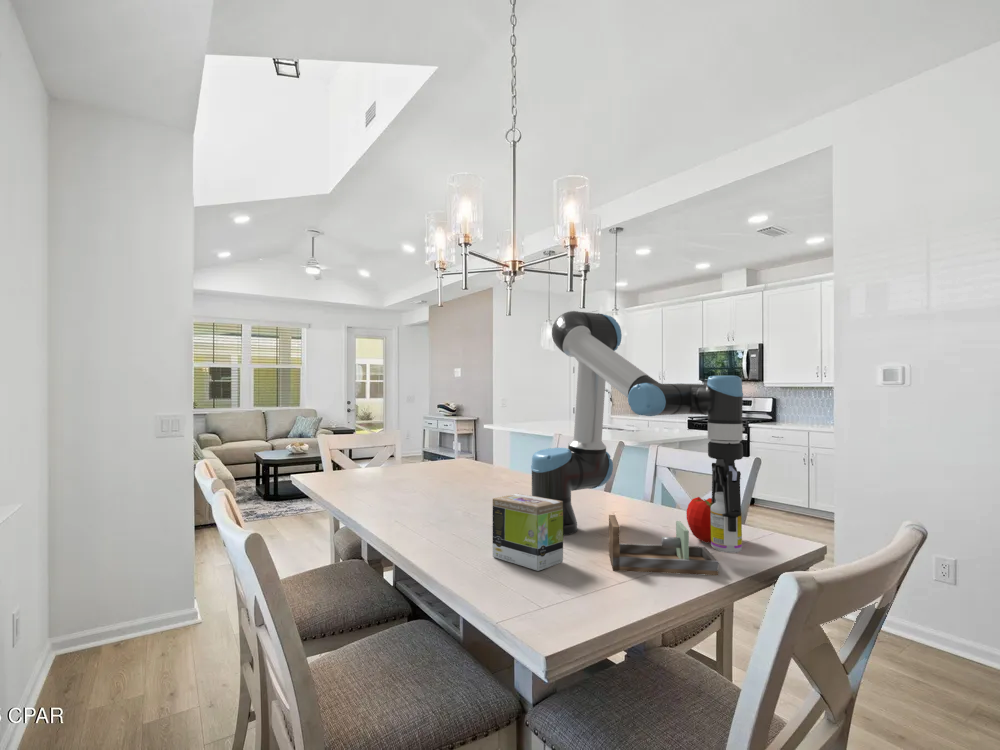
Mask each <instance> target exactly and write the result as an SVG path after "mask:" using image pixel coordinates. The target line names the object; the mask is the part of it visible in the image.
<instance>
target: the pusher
mask: <svg viewBox="0 0 1000 750" xmlns="http://www.w3.org/2000/svg"><path fill="white" fill-rule="evenodd" d="M689 533H690V532H689V530H688V529H687V527H686V526H685V525H684V524H683V522H682V521H680V520H675V537H672V536H662V537H661V545H662V547H663V548H676V554H677V556H678V557H679V559H689V546H690V545H689V543H690V535H689Z"/></svg>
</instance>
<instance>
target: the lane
mask: <svg viewBox="0 0 1000 750" xmlns="http://www.w3.org/2000/svg"><path fill="white" fill-rule="evenodd" d="M620 537H621V536H620V525H619V521H618V519H617V517H616V514H608V556H609V560H610V564H611V565H610V566H611V567H612V571H613V572H614V571H615V572H634V573H635V572H636V573H659V574H676V573H680V574H681V575H698V574H705V576H719V561H718V560H717V559H716V558H715V556H713V554H712V553H711V552H710V551H709V549H707V547H706V546H697V545H695V546H693V545H689V559H679V557H678V556H677V554H676V548H663V547H662V544H647V543H646V544H642V543H640V544H639V543H620V542H621V541H620V539H621V538H620ZM680 574H679V575H680Z"/></svg>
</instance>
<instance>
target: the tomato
mask: <svg viewBox="0 0 1000 750" xmlns="http://www.w3.org/2000/svg"><path fill="white" fill-rule="evenodd" d="M711 500H712V497H708V498H707V499H705V498H701V497H699V496H697V497H694V498H692V499H691V500H690V502H689V503H688V504H687V509H686V521H687V525H688V528H689V529H690V531H691V533H692V536H694V537H695V538H696V539H698V540H699V541H702V542H704V543H705V542H706V543H707V544H711V505H712V504H714V503H712V501H711Z"/></svg>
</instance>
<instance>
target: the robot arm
mask: <svg viewBox="0 0 1000 750" xmlns="http://www.w3.org/2000/svg"><path fill="white" fill-rule="evenodd" d="M622 334H623V333H622V330H621V326H620V324H619V323H618V321H617V319H615V318H614V317H613V316H611V315H607V314H604V313H595V312H584V311H577V310H576V311H575V310H571V311H567V312H564V313H562V314H560V315H558V317H557V318H556V319H555V320H554V323H553V324H552V328H551V337H552V341H553V342H554V345H555V346H556V347H557V348H558V349H559V350H560V351H561V352H562V353H563V354H565V355H566V356H567V357H570V358H571V357H572V358H575V360H576V361H577V363H578V366H577V381H576V383H577V384H576V396H575V398H576V400H575V410H574V411H575V412H574V414H575V415H574V431H573V432H574V433H573V439H572V440H570V441H569V443H568V446H567V447H568V448H566V447H553V448H551V447H549V448H544V449H540V450H537V451H535V452H534V453H533V454H532V457H531V465H530V470H531V496H536V497H541V498H547V499H553V500H559V501H563V536H568V535H573V534H575V533H576V532H577V531H578V522H577V521H578V520H577V519H576V514H575V512H574V508H573V506H572V492H573V491H580V490H587V489H589V490H590V489H591V490H592V489H596V488H598V487H602V486H604V485H606V484H607V483H608V482H609V480H610V479H611V478H612V475H613V470H614V463H613V460H612V459H611V455H610V453H609V452H608V451H607V446H606V444H605V443H604V442H603V426H604V408H605V397H606V383H608V385H610V386H611V387H613V388H614V389H615V390H616V391H618V392H619V393H620V394H622V395H623V396H624V397H625V398H627V402H628V406H629V408H630V409H631V411H632V412H633V413H634V414H636V415H638V416H645V417H655V416H656V417H657V416H667V415H669V416H670V415H673V416H674V415H677V416H678V415H704V416H707V438H708V440H709V441H708V443H707V455H708V457H709V458H711V459H713V460H715V462H712V463H711V473H712V474H711V498H712V500H711V501H712V503H716V499H715V493H716V492H723V495H724V504H725V514H722V516H723V517H724V545H729V546H738V534H737V517H738V516H741V513H742V503H741V501H742V500H741V471H740V470H738V469H737V467H736V463H735V462H736V460H742V459H743V458H744V445H743V443H742V440H743V439H744V436H743V435H744V434H743V432H745V429H746V428H745V427H744V425H743V397H744V393H743V380H742V378H741V377H740V376H738V375H710V376H708V378H707V383H703V384H702V383H701V384H700V383H660V382H658V381H657V380H656V379H654V378H653V377H651V376H650V375H648V374H647V373H645V372H644V371H643V370H641V369H640V368H639V367H637V366H636V365H634V364H633V363H632V362H630V361H629V360H627V359H626V358H624V357H623V356H622V355H620V354H619V353H618V352H616V350H618V348H619V346H620V345H621V343H622V338H623V337H622V336H623V335H622Z"/></svg>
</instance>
